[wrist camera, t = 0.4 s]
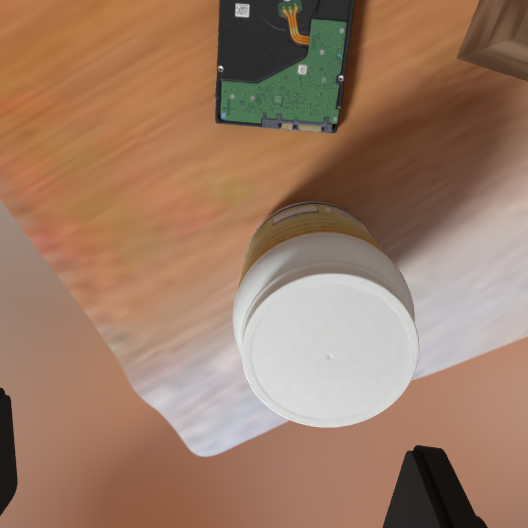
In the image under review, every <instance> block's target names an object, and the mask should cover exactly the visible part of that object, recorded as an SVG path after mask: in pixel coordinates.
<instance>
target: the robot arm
mask: <svg viewBox="0 0 528 528" xmlns="http://www.w3.org/2000/svg"><path fill="white" fill-rule="evenodd" d="M16 489H17V469H16V457H15V444H14V432H13V420H12V408H11V399H10V397H9V396H8V395H5V391H4V390H3V388H0V515H1V514H2V513H3V511H4V510H5V508H6V507H7V506H8V504H9V503H10V501H11V500H12V498H13V496H14V494H15V492H16ZM383 528H488V527H487V526H486V524H485V523H484V521H483V520H482V519H481V518H480V517H478V516H476V515H475V513H474V511H473V509H472V506H471V504H470V503H469V500H468V498H467V496H466V494H465V492H464V490H463V488H462V486H461V484H460V482H459V480H458V478H457V476H456V474H455V472H454V469H453V467H452V465H451V464H450V461H449V460H448V457H447V455H446V453H445V452H444V450H443V449H441V448H435V447H427V446H420V445H417V446H415V447H414V450H413V451H407V452H406V455H405V458H404V461H403V464H402V467H401V471H400V474H399V477H398V480H397V483H396V486H395V489H394V493H393V496H392V499H391V503H390V505H389V509H388V512H387V515H386V518H385V521H384V525H383Z"/></svg>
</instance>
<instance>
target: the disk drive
mask: <svg viewBox="0 0 528 528" xmlns="http://www.w3.org/2000/svg"><path fill="white" fill-rule="evenodd" d="M354 2H355V0H220V3H219V4H220V5H219V30H218V31H219V35H218V58H217V81H216V94H215V98H216V113H215V115H216V116H215V121H216V123H218V124H229V125H240V126H252V127H263V128H271V129H285V130H297V131H311V132H323V133H336V132H337V127H338V121H339V112H340V108H341V106H342V101H343V86H344V79H345V71H346V63H347V56H348V49H349V40H350V32H351V25H352V16H353V9H354Z"/></svg>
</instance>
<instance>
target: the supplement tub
mask: <svg viewBox="0 0 528 528" xmlns="http://www.w3.org/2000/svg"><path fill="white" fill-rule="evenodd" d="M233 328H234V334H235V339H236V343H237V346H238V348H239V351H240V353H241V355H242V363H243V368H244V372H245V375H246V378H247V380H248V382H249V384H250V386H251V387H252V389H253V391H254V392H255V394H256V395H257V396H258V397H259V398H260V400H261V401H262V402H263V403H264V404H266V405H267V406H268V407H269V408H270V409H272V410H273V411H274V412H275V413H277V414H279V415H281V416H283V417H285V418H287V419H289V420H291V421H294V422H297V423H300V424H304V425H309V426H315V427H341V426H348V425H352V424H355V423H359V422H362V421H364V420H367V419H369V418H371V417H373V416H375V415H377V414H379V413H380V412H382V411H384V410H385V409H386V408H388V407H389V406H390V405H391V404H393V403H394V402H395V401H396V400H397V399H398V398H399V397H400V396H401V394H402V393H403V392H404V390H405V389H406V387H407V386H408V384H409V382H410V381H411V379H412V377H413V375H414V372H415V370H416V366H417V363H418V357H419V339H418V333H417V329H416V326H415V314H414V306H413V301H412V297H411V294H410V291H409V288H408V286H407V283H406V281H405V279H404V277H403V275H402V274H401V272H400V271H399V269H398V268H397V266H396V265H395V264H394V263H393V262H392V261H391V260H390V259H389V258H388V257H387V255H386V254H385V253H384V252H383V250H382V249H381V248H380V246H379V245H378V244H377V243H376V241H375V240H374V239H373V237H372V236H371V235H370V233H369V232H368V230H367V229H366V227H365V226H364V225H363V223H362V222H361V221H360V220H359V219H358V218H357V217H355V216H354V215H353V214H351V213H350V212H348V211H347V210H345V209H343V208H341V207H338V206H336V205H333V204H329V203H324V202H301V203H296V204H292V205H289V206H286V207H284V208H282V209H280V210H278V211H276V212H275V213H273V214H272V215H271V216H269V217H268V218H267V219H266V220H265V221H264V222H263V223H262V224H261V225H260V226H259V228H258V229H257V230H256V232H255V233H254V235H253V237H252V239H251V241H250V243H249V246H248V249H247V253H246V258H245V262H244V266H243V270H242V275H241V279H240V283H239V287H238V291H237V294H236V297H235V302H234V308H233Z"/></svg>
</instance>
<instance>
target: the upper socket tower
mask: <svg viewBox="0 0 528 528" xmlns="http://www.w3.org/2000/svg"><path fill="white" fill-rule="evenodd" d="M457 59H460V60H463V61H466V62H470V63H473V64H476V65H479V66H482V67H485V68H488V69H492V70H495V71H498V72H501V73H504V74H507V75H511V76H514V77H517V78H520V79H523V80H526V81H528V0H480V1H479V4H478V6H477V9H476V11H475V14H474V16H473V19H472V21H471V24H470V26H469V29H468V31H467V34H466V36H465V39H464V41H463V44H462V47H461V49H460V52H459V54H458V57H457Z"/></svg>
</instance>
